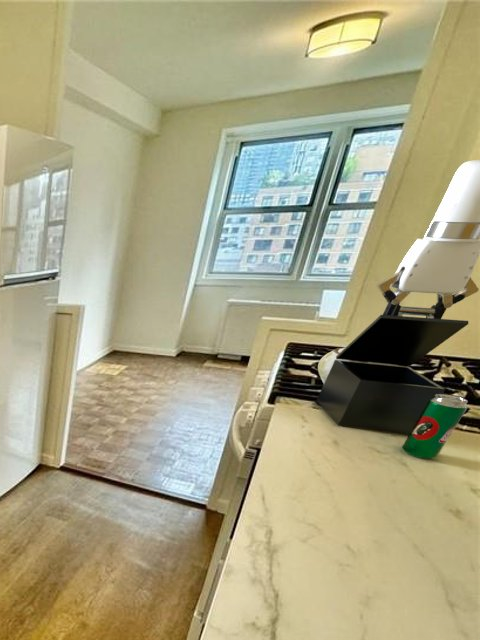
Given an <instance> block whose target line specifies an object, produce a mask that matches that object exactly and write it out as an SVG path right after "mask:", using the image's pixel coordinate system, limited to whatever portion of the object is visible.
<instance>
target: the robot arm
mask: <svg viewBox="0 0 480 640" xmlns="http://www.w3.org/2000/svg"><path fill="white" fill-rule="evenodd" d="M479 257H480V159H472V160H469V161H466V162H464V163H462V164H461V165H460V166H459V167H458V169H457V170H456V172H455V173H454V175H453V177H452V179H451V181H450V184H449V186H448V188H447V190H446V192H445V194H444V196H443V198H442V201H441V203H440V204H439V206H438V208H437V211H436V212H435V215H434V216H433V219H432V221H431V223H430V225H429V228H428V229H427V231H426V233H425V235H424V237H423V238H417V239H416V241H415V242H414V243H413V245H412V246H411V247H410V249H409V250H408V252H407V253H406V255H405V256H404V257H403V259H402V261H401V263H400V264H399V266H398V268H397V270H396V271H395V273H394V274H392V275H391V276H389V277H387V278H385V279H384V280H383V279H382V280H381V281H379V282H378V283H376V288H377V290H379V292H380V293H381V295H382V296H383V297H384V299H385V301H386V303H387V305H386V307H385V309H384V310H383V313H382V315H392V316H397V314H398V312H399V310H400V308H401V306H402V305H400V304H401V302H402V301H404V299H406V297H408V295H410V294H411V293H422V294H436V303H435V304H432V306H431V307H430V308H435V309H436V313H435V315H434V319H443V316H444V314H445V313H446V311H447V309H450V308H451V307H452V306H454V305H455V304H457V303H459V302H461V301H464V299H465V298H468V297H470V296H472V295H475V294H476V293H478V292H479V291H480V288H479V287H478V286H477V285H476V283H475V282H474V280H473V278H472V277H471V276H472V274H473V272H474V270H475V267H476V265H477V262H478V259H479ZM391 287H392V288H394V289H395V290H394V291H393V290H392V289H391ZM425 318H427V316H425Z"/></svg>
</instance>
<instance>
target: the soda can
mask: <svg viewBox="0 0 480 640" xmlns="http://www.w3.org/2000/svg"><path fill="white" fill-rule="evenodd" d="M468 402H469V401H468V400H467V399H465V398H463V397H460V396H457V395H451V394H446V393H445V394H444V393H443V394H436V395H435V396H434V397H433V398H431V399H429V401H428V403H427V404H426V406H425V408H424V409H423V411H422V413H421V415H420V416H419V418H418V420H417V422H416V423H415V425H414V427H413V429H412V430H411V432H410V434H409V435H407V437H406V439H405V440H404V443H403V444H402V446H401V448H402V451H403V452H404V453H405V454H407V455H410V456H412V457H415V458H417V459H425V460H431V459H434V458H437V457H438V456H439V454H440V453H441V451H442V449H443V448H444V447H445V444H446V443H447V442H448V440H449V438H450V436H452V434H453V432H454V430H455V428H457V425H458V424H459V422H460V420H461V419H462V418H463V416H464V414H465V412H466V411H467V409H468V404H467V403H468Z"/></svg>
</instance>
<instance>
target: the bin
mask: <svg viewBox="0 0 480 640" xmlns="http://www.w3.org/2000/svg"><path fill="white" fill-rule="evenodd" d="M445 391H446V388H444V387H443V386H441V385H440V384H437V383H436V382H434V381H433V380H431V379H429V378H428V377H426V376H425V375H423V374H422V373H420V372H418V371H417V370H416V369H413V368H412V367H411V366H402V365H397V366H395V365H385V364H375V363H365V362H355V361H345V360H335V361H334V363H333V365H332V368H331V370H330V372H329V374H328V376H327V379H326V381H325V383H323V385H322V387H321V389H320V392H319V394H318V396H317V398H316V400H315V402H316V403H317V405H319V406H320V407H321V409H322V410H323V411H324V412H325V413H326V414H327V415H328V416H329V417H330V418H331V419H332V421H334V422H335V424H336V425H337V426H338V427H345V428H346V427H347V428H352V429H353V428H354V429H359V430H367V431H375V432H383V433H391V434H398V435H404V436H406V435H407V436H408V435H409V434H410V432H411V430H412V429H413V427H414V425H415V423H416V422H417V420H418V418H419V416H420V415H421V413H422V411H423V409H424V408H425V406H426V404H427V403H428V401H429V399H431V398H433V397H434V396H435V395H436V394H444V392H445Z"/></svg>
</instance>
